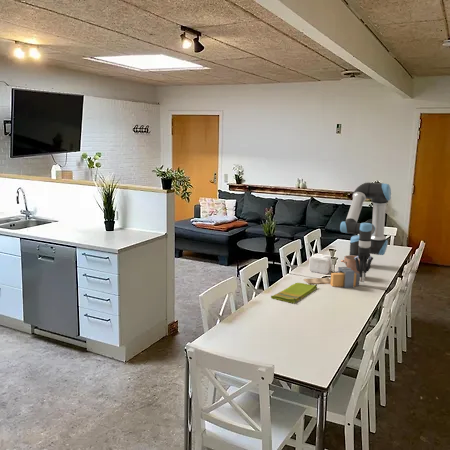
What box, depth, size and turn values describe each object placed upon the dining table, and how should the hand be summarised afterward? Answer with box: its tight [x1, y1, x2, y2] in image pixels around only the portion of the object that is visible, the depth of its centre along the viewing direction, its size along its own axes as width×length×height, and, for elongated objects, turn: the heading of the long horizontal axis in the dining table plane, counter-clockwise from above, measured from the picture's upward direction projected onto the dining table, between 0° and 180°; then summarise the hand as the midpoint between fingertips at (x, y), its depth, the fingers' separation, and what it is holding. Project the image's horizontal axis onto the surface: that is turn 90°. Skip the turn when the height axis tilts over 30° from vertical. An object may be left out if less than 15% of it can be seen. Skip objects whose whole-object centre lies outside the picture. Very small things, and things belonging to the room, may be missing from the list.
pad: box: [303, 277, 331, 285], centre depth 309 cm, size 20×10×1 cm, turn 102°
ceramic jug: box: [340, 254, 360, 273], centre depth 320 cm, size 18×14×14 cm
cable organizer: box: [308, 253, 332, 275], centre depth 332 cm, size 15×11×12 cm
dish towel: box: [270, 282, 318, 304], centre depth 284 cm, size 15×36×3 cm, turn 147°
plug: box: [330, 272, 360, 287], centre depth 302 cm, size 18×4×8 cm, turn 98°
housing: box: [337, 266, 354, 289], centre depth 301 cm, size 6×10×12 cm, turn 12°
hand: (361, 281), depth 304 cm, fingers closed
